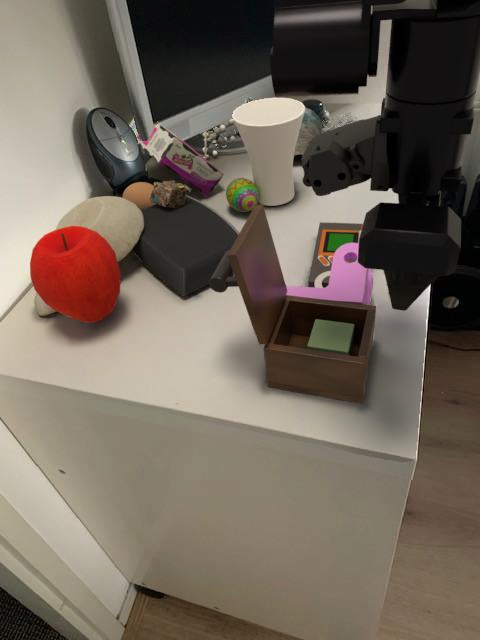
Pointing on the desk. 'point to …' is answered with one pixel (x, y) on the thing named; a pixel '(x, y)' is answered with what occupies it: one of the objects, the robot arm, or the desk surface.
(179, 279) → the hard drive
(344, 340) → the block
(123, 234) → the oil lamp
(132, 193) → the egg
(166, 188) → the rock
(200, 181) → the candy bar box
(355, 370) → the chest
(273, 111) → the cup
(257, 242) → the lid
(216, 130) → the molecular model
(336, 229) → the electronic device
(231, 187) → the egg
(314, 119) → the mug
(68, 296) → the apple
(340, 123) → the rug
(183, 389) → the desk surface
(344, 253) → the bracket
